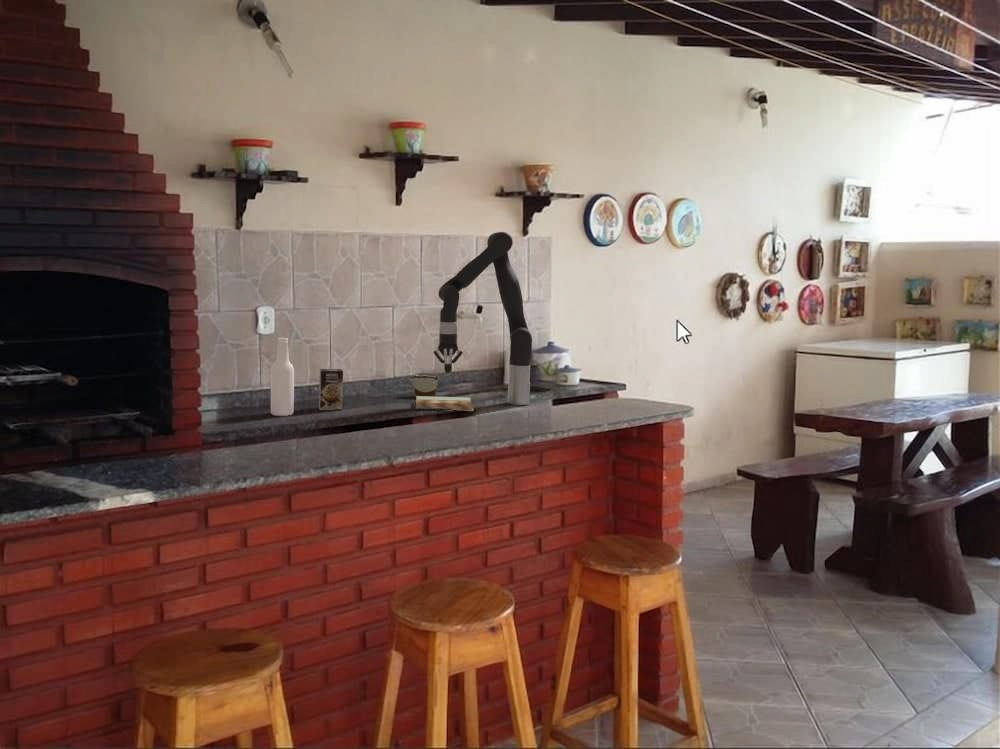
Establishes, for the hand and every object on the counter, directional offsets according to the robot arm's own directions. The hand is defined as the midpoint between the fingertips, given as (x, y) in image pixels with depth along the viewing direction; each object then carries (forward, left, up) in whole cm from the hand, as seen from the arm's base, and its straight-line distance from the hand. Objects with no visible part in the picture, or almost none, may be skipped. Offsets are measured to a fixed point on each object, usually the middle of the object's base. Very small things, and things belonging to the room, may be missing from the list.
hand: (447, 372), depth 402 cm
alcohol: (+65, +29, -14) cm, 73 cm away
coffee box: (+48, +16, -14) cm, 52 cm away
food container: (+8, -19, -14) cm, 25 cm away
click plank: (+1, +3, -13) cm, 13 cm away
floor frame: (+1, +5, -14) cm, 15 cm away
